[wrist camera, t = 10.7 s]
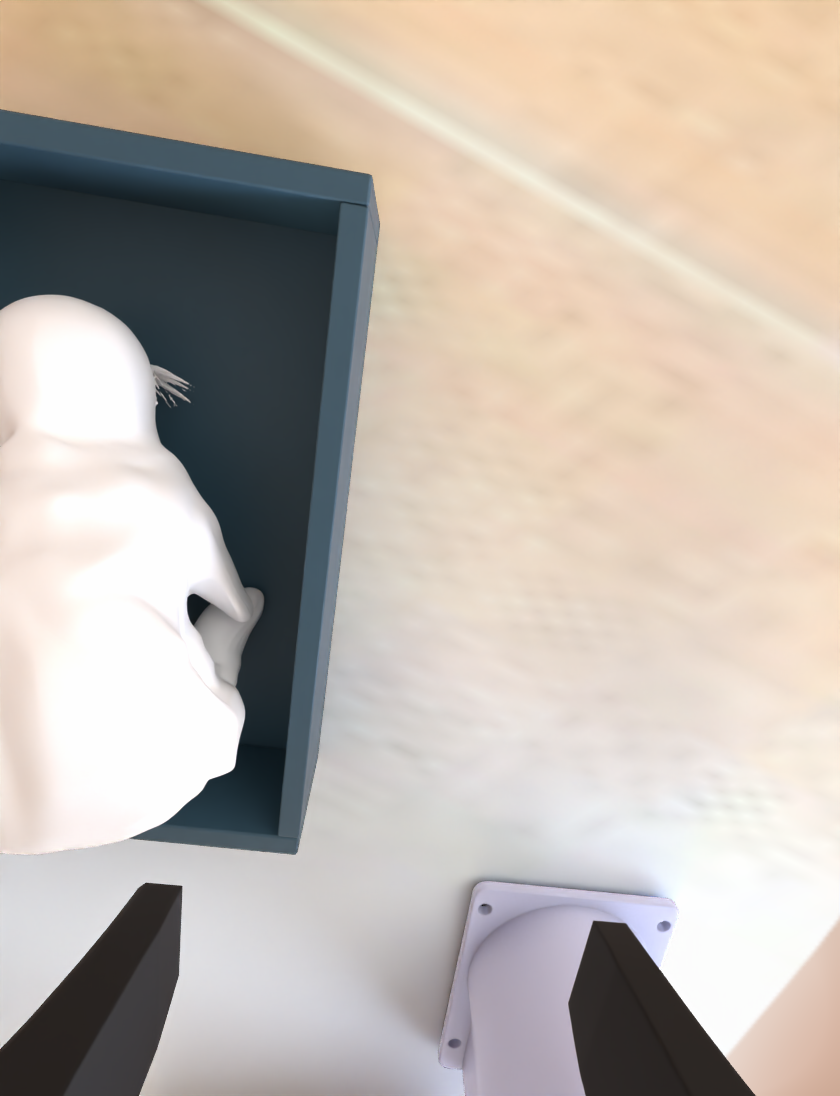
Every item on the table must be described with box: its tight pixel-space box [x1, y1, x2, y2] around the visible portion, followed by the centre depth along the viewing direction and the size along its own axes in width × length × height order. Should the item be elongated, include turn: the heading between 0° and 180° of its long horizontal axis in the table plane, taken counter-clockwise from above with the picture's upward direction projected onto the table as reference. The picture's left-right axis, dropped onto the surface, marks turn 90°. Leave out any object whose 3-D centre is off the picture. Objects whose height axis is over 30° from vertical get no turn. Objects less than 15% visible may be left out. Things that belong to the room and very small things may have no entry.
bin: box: [0, 109, 380, 855], centre depth 17 cm, size 17×11×4 cm, turn 172°
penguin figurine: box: [0, 295, 264, 855], centre depth 15 cm, size 6×8×12 cm
